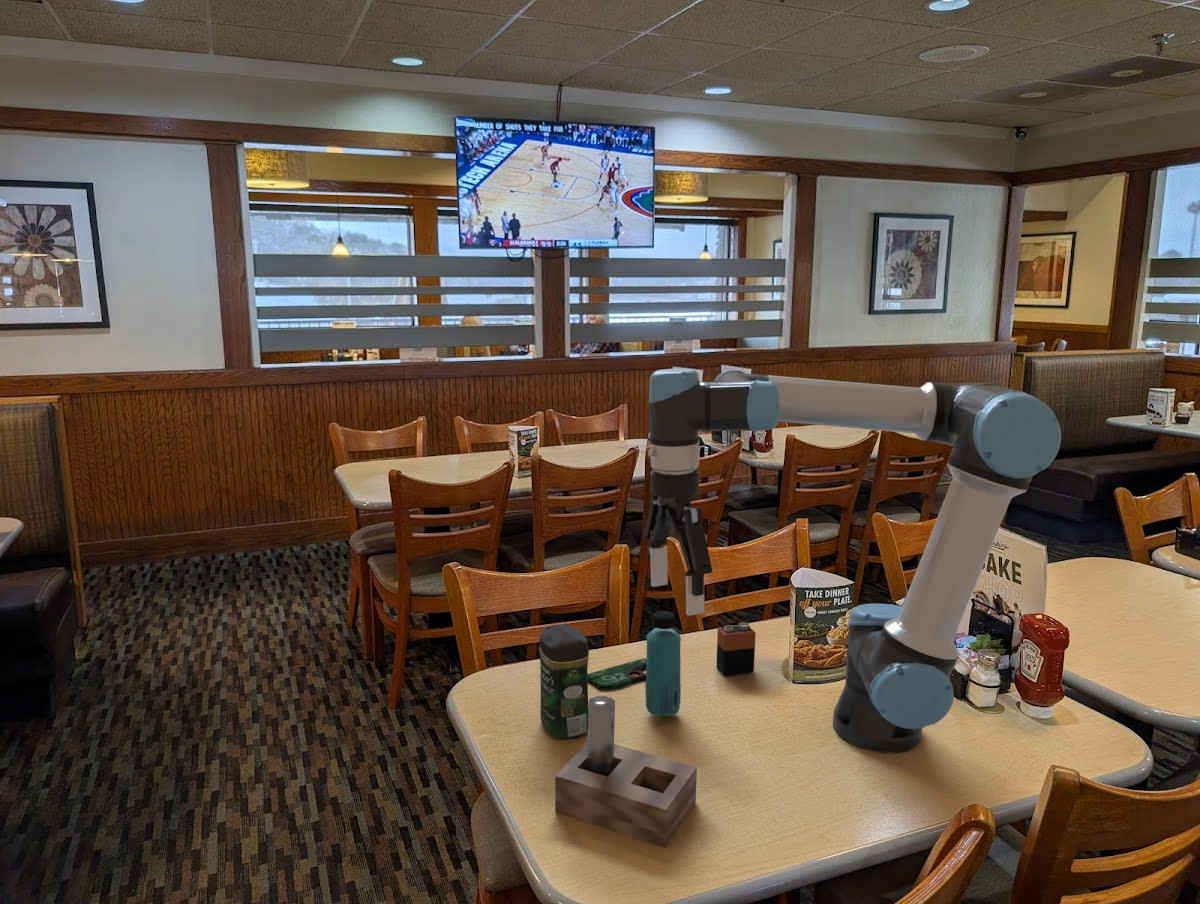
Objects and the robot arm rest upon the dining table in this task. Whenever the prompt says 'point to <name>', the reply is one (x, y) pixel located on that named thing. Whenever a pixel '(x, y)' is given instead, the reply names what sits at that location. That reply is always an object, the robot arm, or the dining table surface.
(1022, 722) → the dining table surface
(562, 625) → the coffee jar
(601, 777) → the peg block
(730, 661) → the battery
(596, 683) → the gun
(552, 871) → the dining table surface
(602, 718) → the steel peg
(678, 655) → the beverage bottle
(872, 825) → the dining table surface
